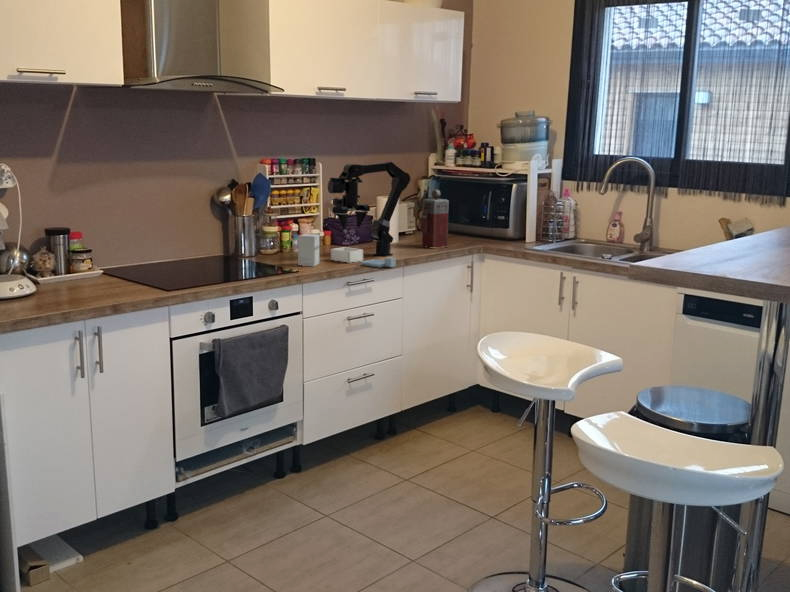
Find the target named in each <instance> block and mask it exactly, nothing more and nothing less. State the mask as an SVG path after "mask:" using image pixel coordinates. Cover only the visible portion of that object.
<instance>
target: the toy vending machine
mask: <svg viewBox="0 0 790 592" xmlns="http://www.w3.org/2000/svg"><path fill="white" fill-rule="evenodd" d="M431 191H432V192H431V197H432V198H424V199H423V200H422V205H423V206H422V212H421V215H420V233H422V236H421V237H422V239H421V240H422V241H421V244H422V245H421V246H427V247H442V246H447V247H448V242H449V241H448V239H449V238H448V237H449V210H450V209H449V203H450V201H449V199H444V198H441V196H442V195H441V193H442V192H441V191H440V190H439V189H432V190H431Z"/></svg>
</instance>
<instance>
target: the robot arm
mask: <svg viewBox="0 0 790 592" xmlns="http://www.w3.org/2000/svg"><path fill="white" fill-rule="evenodd" d="M342 170H343V171H341V173H340V174H339V176H338V177H329V180H328V184H327V191H328V193H329V194H343V195H342V198H338V197H334V198H333V199H332V205H333V207H332V208H331V209H332V211H331V212H332V214H334V215H335V216H337V218H338V219H339V221H340V224H341V227H342V230H346V227H347V225H348V224H347V223H348V218H349V213H348V212H353V211H354V214H355V216H356V227H357V229H358V228H360V227H361V226H362V223H363V222H364V219H365V217H366V216H367V214H368V213H369V212H370V211H371V209H370V208H371V206H370V205H369V204H365V203H364V204H363V203H359V198H361V196H360V195H359V183H361V184H362V183H363V180H362V179H361V178H360V177H361V176H364V175H366V174H372V173H382V172H387V174H388V175H389V177H390V178H391V185H390V186H391V189H390V192H389V195H388V197H387V199H386V202H385V204H384V207H383V208H382V211H381V214H380V217H379V218H378V219H373V220H372V221H373V222H372V225H371V227H370V234H371V236H372V237H373V239H374V242H376V244H375V253H373V256H379V257H389V256H393V255H394V254H393V253H391V243H393V241H394V237H393V236H392V235H391V234H390V228H391V227H390V224H391V223H390V222H391V220H392V217H393V214H394V211H395V210H396V207H397V205H398V202H399V199H400V197H401V194H402V193H403V191H405V190H406V188H408V185H409V184H410V182H411V179H412V178H411V175H410V174H409V173H408V172H406V171H404V170H403V169H401V168H400V167H398V166H397V165H396V164H395V163H394V162H393V161H385V162H378V163H376V162H375V163H369V164H368V163H367V164H358V163H357V164H356V163H355V164H354V163H347V164H346V163H345V165H344V167H343V169H342ZM388 255H389V256H388Z"/></svg>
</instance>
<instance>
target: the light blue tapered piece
mask: <svg viewBox="0 0 790 592" xmlns="http://www.w3.org/2000/svg"><path fill="white" fill-rule="evenodd" d="M396 262H397V261H396V257H389V256H387V257H384V260H382V259H376V258H375V259H374V258H372V259H368V260H363V261H360V262H359V264H362V265H363V266H366V267H372V268H378V269H379V268H380V269H382V268H385V267H391V268H392V267H396V266H397V265H396Z"/></svg>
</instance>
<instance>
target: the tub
mask: <svg viewBox="0 0 790 592" xmlns="http://www.w3.org/2000/svg"><path fill="white" fill-rule="evenodd" d="M331 260H334V261H333V262H337V261H341V262H340V263H343V262H347V263H346V264H353V263H352V262H354V263H360V262H361V261H364V249H361V248H354V247H347V246H343V247H342V246H341V247H336V248H330V261H331ZM359 261H360V262H359Z"/></svg>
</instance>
